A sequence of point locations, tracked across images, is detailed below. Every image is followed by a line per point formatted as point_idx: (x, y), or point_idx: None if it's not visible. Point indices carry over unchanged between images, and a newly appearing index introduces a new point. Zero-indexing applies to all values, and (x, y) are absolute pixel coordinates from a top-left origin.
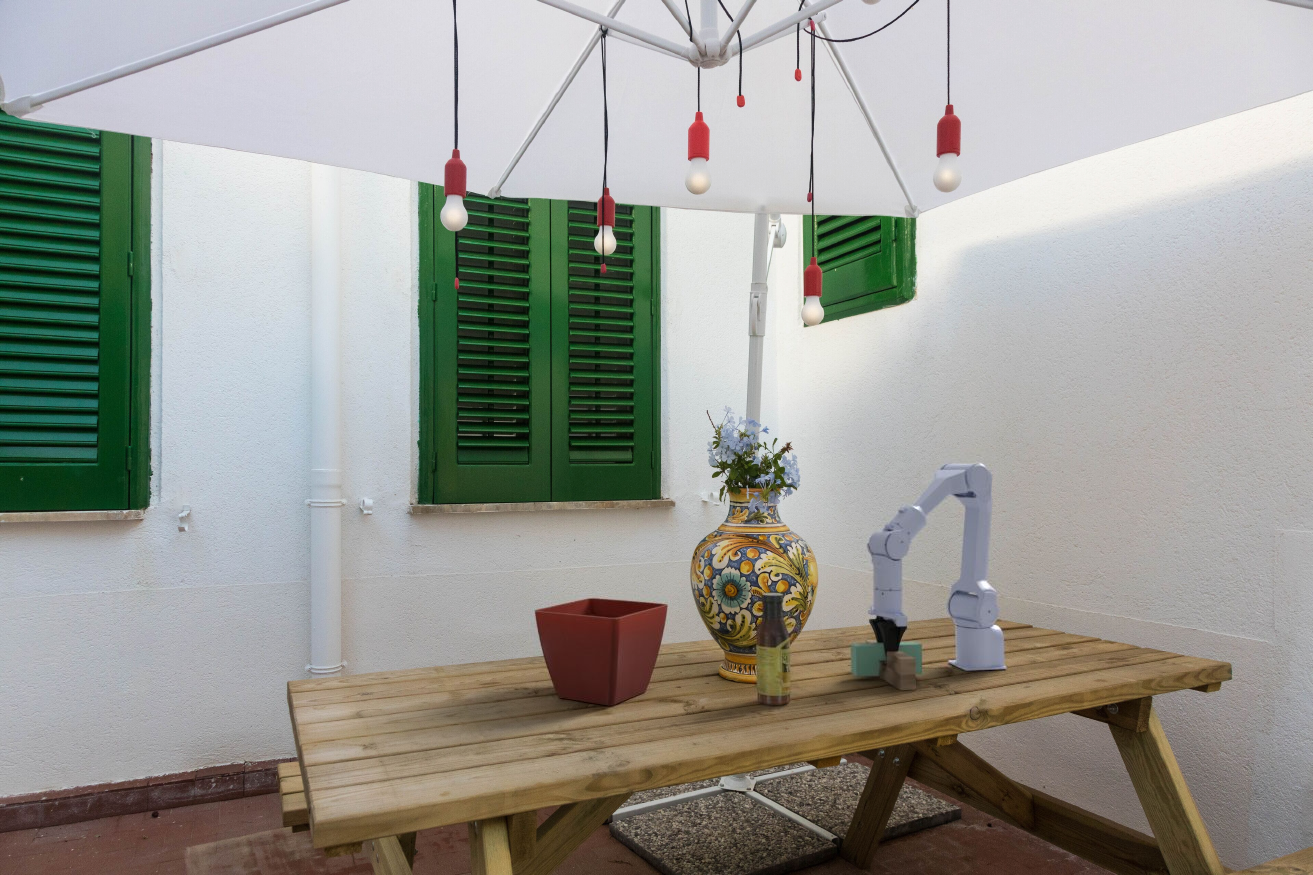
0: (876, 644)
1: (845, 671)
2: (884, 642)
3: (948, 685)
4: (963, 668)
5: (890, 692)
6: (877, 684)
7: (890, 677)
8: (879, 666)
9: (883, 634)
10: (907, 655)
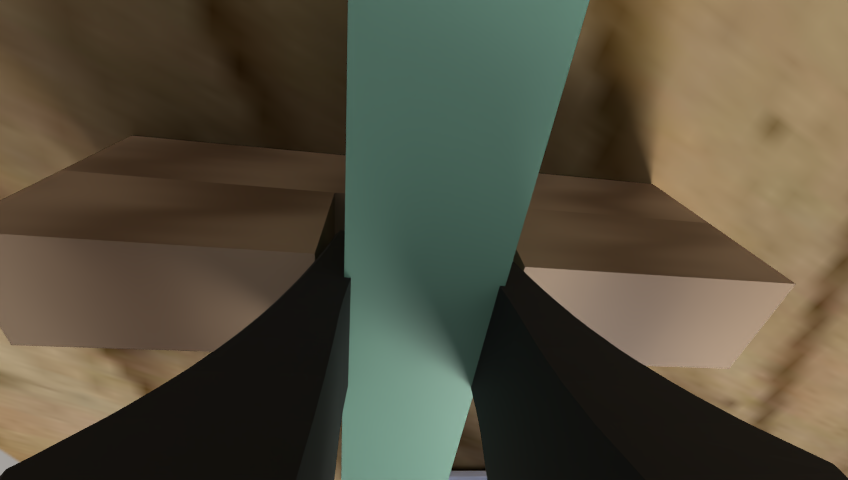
0: (415, 229)
1: (672, 14)
2: (300, 296)
3: None
4: None
5: (63, 37)
6: (287, 59)
7: (285, 163)
8: None
9: (231, 366)
10: (141, 337)
